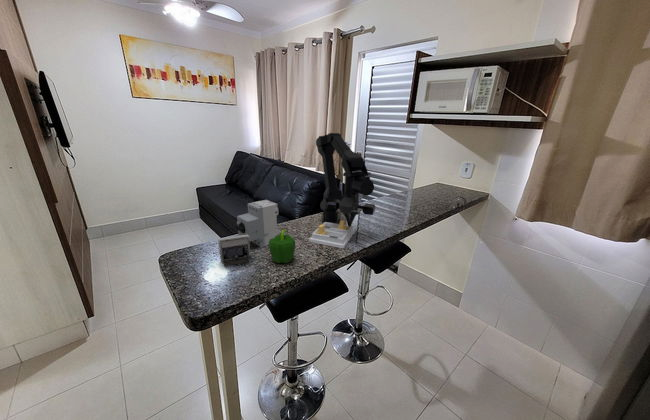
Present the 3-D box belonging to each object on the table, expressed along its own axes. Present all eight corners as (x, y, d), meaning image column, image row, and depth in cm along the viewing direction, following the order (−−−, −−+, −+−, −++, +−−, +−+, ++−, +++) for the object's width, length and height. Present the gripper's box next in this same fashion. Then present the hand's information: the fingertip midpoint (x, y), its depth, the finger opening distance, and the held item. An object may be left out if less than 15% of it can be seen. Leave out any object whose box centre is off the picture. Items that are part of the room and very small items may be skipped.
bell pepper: (286, 269, 78) (285, 240, 75) (265, 262, 82) (263, 234, 78) (300, 257, 85) (300, 230, 82) (280, 251, 89) (279, 225, 86)
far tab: (337, 231, 103) (337, 221, 102) (339, 229, 106) (340, 219, 104) (344, 233, 102) (344, 223, 101) (346, 230, 105) (347, 220, 103)
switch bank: (309, 241, 97) (309, 234, 96) (324, 227, 111) (324, 220, 110) (343, 248, 92) (344, 240, 91) (354, 232, 106) (355, 225, 105)
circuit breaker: (235, 245, 92) (231, 206, 88) (268, 234, 102) (266, 199, 97) (245, 252, 87) (242, 212, 83) (279, 240, 97) (278, 203, 92)
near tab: (316, 236, 98) (316, 226, 97) (319, 234, 101) (319, 223, 99) (323, 238, 97) (323, 227, 96) (326, 235, 100) (326, 225, 98)
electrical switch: (250, 255, 86) (248, 231, 82) (252, 264, 81) (250, 239, 78) (220, 260, 82) (217, 236, 78) (221, 270, 78) (218, 244, 74)
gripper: (321, 191, 93) (320, 230, 98) (371, 197, 87) (368, 238, 92) (331, 185, 103) (330, 220, 108) (377, 190, 97) (373, 227, 102)
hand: (349, 226), depth 102 cm, fingers closed
